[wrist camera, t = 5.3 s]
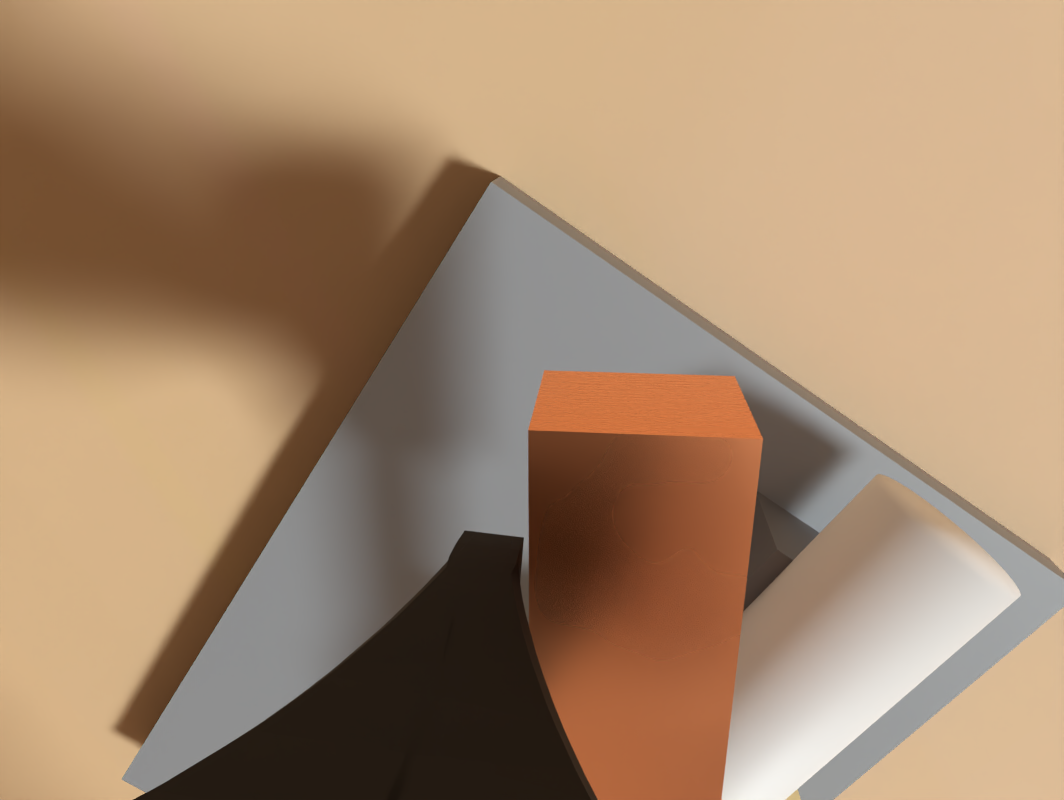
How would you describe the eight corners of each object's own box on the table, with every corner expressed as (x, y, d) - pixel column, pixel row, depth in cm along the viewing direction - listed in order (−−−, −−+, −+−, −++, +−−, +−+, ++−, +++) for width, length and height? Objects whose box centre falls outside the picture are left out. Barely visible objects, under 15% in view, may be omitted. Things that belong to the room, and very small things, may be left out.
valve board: (569, 977, 22) (553, 1288, 17) (147, 743, 21) (-39, 996, 15) (1049, 558, 16) (1302, 818, 10) (500, 176, 15) (422, 222, 9)
